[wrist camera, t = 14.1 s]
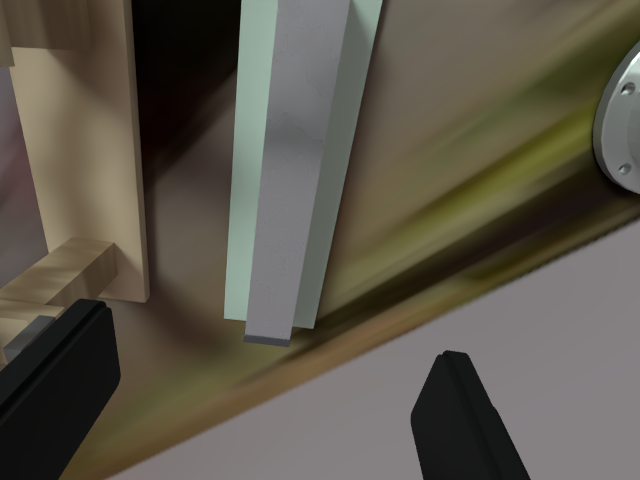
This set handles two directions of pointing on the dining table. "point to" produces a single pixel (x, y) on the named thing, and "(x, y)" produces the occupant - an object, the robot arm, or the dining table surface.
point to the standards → (76, 159)
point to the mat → (250, 144)
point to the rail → (292, 158)
